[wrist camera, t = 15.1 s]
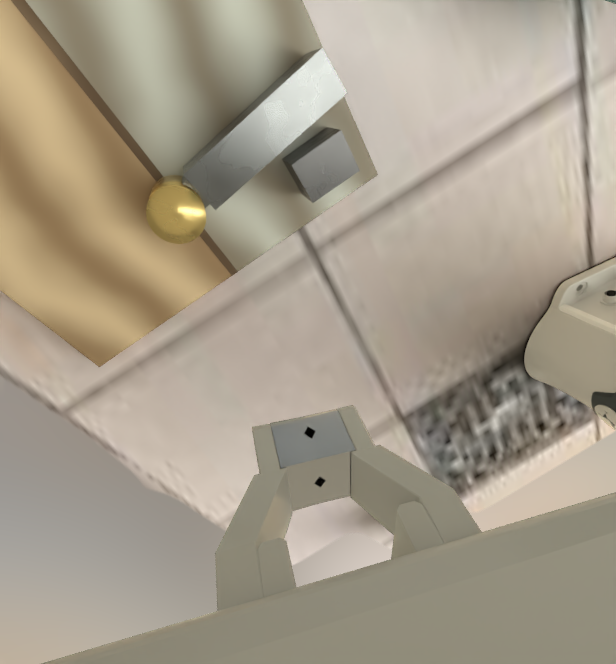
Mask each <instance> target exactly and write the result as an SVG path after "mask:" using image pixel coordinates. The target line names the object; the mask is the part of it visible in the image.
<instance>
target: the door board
mask: <svg viewBox="0 0 616 664" xmlns="http://www.w3.org/2000/svg"><path fill="white" fill-rule="evenodd" d="M320 48H323V47H322V45H321V42H320V40H319V38H318V35H317V33H316V31H315V29H314V26H313V24H312V22H311V19H310V17H309V15H308V12H307V10H306V8H305V5H304V3H303V1H302V0H0V290H1V291H2V292H3V293H4V294H6V295H7V296H8V297H10V298H11V299H12V300H13V301H15V302H16V303H17V304H19V305H20V306H21V307H23V308H24V309H25V310H26V311H28V312H29V313H30V314H32V315H33V316H34V317H35V318H37V319H38V320H39V321H41V322H42V323H43V324H44V325H46V326H47V327H48V328H50V329H51V330H52V331H53V332H55V333H56V334H57V335H59V336H60V337H61V338H63V339H64V340H65V341H66V342H68V343H69V344H70V345H72V346H73V347H74V348H75V349H77V350H78V351H79V352H81V353H82V354H83V355H84V356H86V357H87V358H88V359H90V360H91V361H92V362H93V363H95V364H96V365H97V366H99V367H100V366H102V365H103V364H105V363H106V362H107V361H109V360H110V359H112V358H113V357H115V356H116V355H118V354H119V353H120V352H122V351H123V350H125V349H126V348H128V347H129V346H131V345H132V344H134V343H135V342H136V341H138V340H139V339H141V338H142V337H144V336H145V335H147V334H148V333H149V332H151V331H152V330H154V329H155V328H157V327H158V326H160V325H161V324H162V323H164V322H165V321H167V320H168V319H170V318H171V317H173V316H174V315H175V314H177V313H178V312H180V311H181V310H183V309H184V308H186V307H187V306H189V305H190V304H191V303H193V302H194V301H196V300H197V299H199V298H200V297H202V296H203V295H204V294H206V293H207V292H209V291H210V290H212V289H213V288H215V287H216V286H217V285H219V284H220V283H222V282H223V281H225V280H226V279H228V278H229V277H231V276H232V275H234V274H235V273H237V272H238V271H239V270H241V269H242V268H244V267H245V266H246V265H248V264H249V263H251V262H252V261H254V260H255V259H257V258H258V257H259V256H261V255H262V254H264V253H265V252H267V251H268V250H270V249H271V248H272V247H274V246H275V245H277V244H278V243H280V242H281V241H283V240H284V239H286V238H287V237H288V236H290V235H291V234H293V233H294V232H296V231H297V230H299V229H300V228H301V227H303V226H304V225H306V224H307V223H309V222H310V221H312V220H313V219H314V218H316V217H317V216H319V215H320V214H322V213H323V212H325V211H326V210H328V209H329V208H330V207H332V206H333V205H335V204H336V203H338V202H339V201H341V200H342V199H343V198H345V197H346V196H348V195H349V194H351V193H352V192H354V191H355V190H356V189H358V188H359V187H361V186H362V185H364V184H365V183H367V182H368V181H369V180H371V179H372V178H374V177H375V176H377V175H378V174H377V172H376V170H375V167H374V165H373V163H372V160H371V158H370V156H369V153H368V151H367V149H366V146H365V144H364V142H363V139H362V137H361V135H360V133H359V130H358V128H357V126H356V123H355V121H354V119H353V116H352V114H351V112H350V109H349V107H348V105H347V103H346V100H345V98H344V97H342V98H341V99H340V100H339V101H338V102H337V103H336V104H335V105H333V106H332V107H331V108H330V109H329V110H328V111H327V112H326V113H324V114H323V115H322V116H321V117H320V118H319V119H318V120H317V121H315V122H314V123H313V124H312V125H311V126H310V127H309V128H308V129H306V130H305V131H304V132H303V133H302V134H301V135H300V136H299V137H297V138H296V139H295V140H294V141H293V142H292V143H291V144H290V145H288V146H287V147H286V148H285V149H284V150H283V151H282V152H281V153H279V154H278V155H277V156H276V157H275V158H274V159H273V160H272V161H270V162H269V163H268V164H267V165H266V166H265V167H264V168H263V169H261V170H260V171H259V172H258V173H257V174H256V175H255V176H254V177H252V178H251V179H250V180H249V181H248V182H247V183H246V184H245V185H244V186H242V187H241V188H240V189H239V190H238V191H237V192H236V193H235V194H233V195H232V196H231V197H230V198H229V199H228V200H227V201H226V202H224V203H223V204H222V205H221V206H220V207H219V208H218V209H217V210H215V209H214V208H213V207H212V206H211V205H209V206H207V207H206V208H205V211H206V224H205V227H204V230H203V231H202V233H201V234H200V235H199V236H198V237H197V238H196V239H195V240H193V241H191V242H188V243H184V244H174V243H170V242H167V241H165V240H163V239H161V238H160V237H158V236H157V235H156V234H155V233H154V232H153V231H152V229H151V228H150V226H149V224H148V221H147V217H146V208H147V203H148V200H149V196H150V193H151V190H152V188H153V186H154V184H155V183H156V182H157V181H158V180H159V179H161V178H163V177H165V176H169V175H179V176H184V175H183V166H184V165H185V164H186V163H187V162H188V161H189V160H190V159H192V158H193V157H194V156H195V155H196V154H197V153H198V152H199V151H200V150H201V149H202V148H203V147H205V146H206V145H207V144H208V143H209V142H210V141H211V140H212V139H213V138H214V137H215V136H216V135H218V134H219V133H220V132H221V131H222V130H223V129H224V128H225V127H226V126H227V125H228V124H230V123H231V122H232V121H233V120H234V119H235V118H236V117H237V116H238V115H239V114H240V113H241V112H243V111H244V110H245V109H246V108H247V107H248V106H249V105H250V104H251V103H252V102H253V101H254V100H256V99H257V98H258V97H259V96H260V95H261V94H262V93H263V92H264V91H265V90H266V89H268V88H269V87H270V86H271V85H272V84H273V83H274V82H275V81H276V80H277V79H278V78H279V77H281V76H282V75H283V74H284V73H285V72H286V71H287V70H288V69H289V68H290V67H291V66H292V65H294V64H295V63H296V62H297V61H298V60H299V59H300V58H301V57H302V56H303V55H304V54H306V53H307V52H310V51H314V50H317V49H320ZM323 50H324V49H323ZM326 127H330V128H334V129H339V130H341V131H342V133H343V135H344V137H345V139H346V142H347V144H348V146H349V148H350V150H351V152H352V155H353V157H354V159H355V161H356V163H357V166H358V168H359V170H360V171H359V172H357V173H356V174H354V175H353V176H351V177H350V178H348V179H347V180H346V181H344V182H343V183H341V184H340V185H338V186H337V187H335V188H334V189H333V190H331V191H330V192H328V193H327V194H325V195H324V196H323V197H321V198H320V199H318V200H317V201H315V202H314V203H312V202H311V201H310V200H308V199H307V198H306V197H305V196H303V195H302V193H301V192H300V190H299V188H298V186H297V185H296V183H295V181H294V179H293V178H292V176H291V174H290V173H289V171H288V169H287V167H286V166H285V164H284V162H283V160H282V158H284V157H285V156H287V155H288V154H290V153H291V152H292V151H294V150H295V149H297V148H298V147H299V146H301V145H302V144H304V143H305V142H307V141H308V140H309V139H311V138H312V137H314V136H315V135H316V134H318V133H319V132H321V131H322V130H323V129H325V128H326Z"/></svg>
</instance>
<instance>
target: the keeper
mask: <svg viewBox="0 0 616 664" xmlns="http://www.w3.org/2000/svg"><path fill="white" fill-rule="evenodd" d="M282 160H283V162H284V164H285V166H286V167H287V169H288V171H289V173H290V174H291V176H292V178H293V179H294V181H295V183H296V185H297V186H298V188H299V190H300V192H301V193H302V195H303V196H305V197H306V198H307V199H308V200H310V201H311V202H312V203H314V202H315V201H317V200H318V199H320V198H321V197H323V196H324V195H325V194H327V193H328V192H330V191H331V190H333V189H334V188H335V187H337V186H338V185H340V184H341V183H343V182H344V181H346V180H347V179H348V178H350V177H351V176H353V175H354V174H356V173H357V172H359V171H360V170H359V168H358V166H357V163H356V161H355V159H354V157H353V155H352V152H351V150H350V148H349V146H348V144H347V142H346V139H345V137H344V135H343V133H342V131H341V130H339V129H334V128H330V127H326V128H325V129H323V130H322V131H321V132H319V133H318V134H316V135H315V136H314V137H312V138H311V139H309V140H308V141H307V142H305V143H304V144H302V145H301V146H299V147H298V148H297V149H295V150H294V151H292V152H291V153H290V154H288V155H287V156H285V157H284V158H282Z"/></svg>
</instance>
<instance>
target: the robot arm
mask: <svg viewBox="0 0 616 664" xmlns="http://www.w3.org/2000/svg"><path fill="white" fill-rule="evenodd" d="M524 363H525V368H526V371H527V372H528V374H529V375H530V376H531V377H532V378H534V379H535V380H538V381H541V382H543V383H546V384H548V385H550V386H552V387H555V388H557V389H559V390H561V391H562V392H564V393H566V394H568V395H570V396H572V397H573V398H575V399H577V400H578V401H580V402H582V403H583V404H585V405H587V406H588V407H590V408H591V409H593V411H594V412H595V414H597V415H598V416H599V417H600V418H601V419H602V420H603V421H604V422H605V423H606V424H608V425H609V426H610V427H611V428H613V429H614V430H615V431H616V257H615V258H613V259H611V260H608V261H606V262H604V263H602V264H600V265H598V266H596V267H593V268H591V269H589V270H587V271H585V272H583V273H581V274H579V275H576V276H574V277H572V278H570V279H568V280H566V281H564V282H563V283H562V284H561V285H560V286H559V287H558V289H557V291H556V293H555V295H554V297H553V300H552V302H551V305H550V307H549V309H548V311H547V312H546V314H545V315H544V316H543V318H542V319H541V320H540V322H539V323H538V324H537V326H536V327H535V329H534V331H533V333H532V334H531V336H530V339H529V341H528V344H527V347H526V350H525V356H524ZM252 432H253V438H254V444H255V450H256V455H257V461H258V467H259V473H260V474H258V475H254V477H253V479H252V481H251V483H250V485H249V487H248V489H247V491H246V493H245V495H244V497H243V499H242V501H241V503H240V505H239V507H238V509H237V511H236V513H235V515H234V517H233V519H232V521H231V523H230V525H229V527H228V529H227V531H226V533H225V535H224V537H223V539H222V541H221V543H220V545H219V547H218V549H217V551H216V553H215V561H216V562H215V563H216V588H217V608H218V609H217V611H216V612H213V613H210V614H207V615H203V616H200V617H196V618H193V619H190V620H186V621H183V622H179V623H176V624H173V625H169V626H166V627H163V628H159V629H156V630H152V631H149V632H146V633H142V634H139V635H136V636H132V637H129V638H126V639H122V640H119V641H116V642H112V643H109V644H106V645H102V646H99V647H96V648H92V649H89V650H85V651H83V652H79V653H75V654H72V655H69V656H65V657H62V658H59V659H56V660H52V661H49V662H45V663H42V664H616V493H612V494H608V495H605V496H602V497H598V498H595V499H592V500H588V501H585V502H582V503H578V504H575V505H572V506H568V507H565V508H562V509H558V510H555V511H552V512H548V513H545V514H542V515H538V516H535V517H531V518H528V519H525V520H521V521H518V522H515V523H512V524H508V525H505V526H501V527H498V528H495V529H491V530H488V531H485V532H481V530H480V529H479V527H478V526H477V524H476V523H475V521H474V520H473V518H472V516H471V515H470V513H469V512H468V510H467V509H466V507H465V506H464V504H463V503H462V501H461V500H460V498H459V497H458V495H457V493H456V492H455V490H454V489H453V488H451V487H449V486H448V485H446V484H444V483H443V482H441V481H439V480H438V479H436V478H434V477H433V476H431V475H429V474H428V473H426V472H424V471H423V470H421V469H419V468H418V467H416V466H414V465H413V464H411V463H409V462H408V461H406V460H404V459H403V458H401V457H399V456H398V455H396V454H394V453H393V452H391V451H389V450H388V449H386V448H384V447H383V446H381V445H378V446H375V445H374V443H373V441H372V439H371V437H370V435H369V433H368V431H367V429H366V427H365V425H364V423H363V421H362V420H361V418H360V416H359V414H358V412H357V410H356V408H355V407H354V406H353V405H351V406H347V407H342V408H338V409H334V410H329V411H325V412H321V413H316V414H312V415H308V416H303V417H300V418H295V419H289V420H284V421H279V422H274V423H270V424H266V425H260V426H255V427H252ZM348 496H351V498H352V499H353V500H354V501H355V502H357V503H358V504H359V505H360V506H361V507H362V508H363V509H364V510H366V511H367V512H368V513H369V514H370V515H371V516H372V517H374V518H375V519H376V520H377V521H378V522H379V523H380V524H382V525H383V526H384V527H385V528H386V529H387V530H388V531H390V532H391V533H392V534H393V535H394V540H393V548H392V557H391V560H387V561H384V562H381V563H377V564H374V565H370V566H367V567H364V568H361V569H357V570H354V571H350V572H347V573H343V574H340V575H337V576H334V577H330V578H327V579H323V580H320V581H317V582H313V583H310V584H307V585H303V586H300V587H297V588H296V583H295V579H294V574H293V570H292V565H291V560H290V556H289V551H288V547H287V542H286V541H285V540H284V538H285V535H286V532H287V529H288V526H289V522H290V519H291V516H292V511H295V510H298V509H302V508H305V507H308V506H312V505H315V504H319V503H322V502H327V501H331V500H335V499H340V498H344V497H348Z"/></svg>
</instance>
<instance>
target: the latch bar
mask: <svg viewBox="0 0 616 664" xmlns="http://www.w3.org/2000/svg"><path fill="white" fill-rule="evenodd" d="M346 94H347V91H346V90H345V88H344V86H343V84H342V82H341V81H340V79H339V77H338V75H337V73H336V71H335V70H334V68H333V66H332V64H331V62H330V60H329V59H328V57H327V55H326V53H325V51H324V50H323V48H320V49H317V50H314V51H310V52H307V53H306V54H304V55H303V56H302V57H301V58H300V59H299V60H298V61H297V62H296V63H295V64H294V65H292V66H291V67H290V68H289V69H288V70H287V71H286V72H285V73H284V74H283V75H282V76H281V77H279V78H278V79H277V80H276V81H275V82H274V83H273V84H272V85H271V86H270V87H269V88H268V89H266V90H265V91H264V92H263V93H262V94H261V95H260V96H259V97H258V98H257V99H256V100H254V101H253V102H252V103H251V104H250V105H249V106H248V107H247V108H246V109H245V110H244V111H243V112H241V113H240V114H239V115H238V116H237V117H236V118H235V119H234V120H233V121H232V122H231V123H230V124H228V125H227V126H226V127H225V128H224V129H223V130H222V131H221V132H220V133H219V134H218V135H216V136H215V137H214V138H213V139H212V140H211V141H210V142H209V143H208V144H207V145H206V146H205V147H203V148H202V149H201V150H200V151H199V152H198V153H197V154H196V155H195V156H194V157H193V158H192V159H190V160H189V161H188V162H187V163H186V164H185V165H184V166H183V175H184V176H179V175H169V176H165V177H163V178H161V179H159V180H158V181H157V182H156V183H155V184H154V186H153V188H152V190H151V193H150V196H149V200H148V203H147V208H146V217H147V221H148V224H149V226H150V228H151V229H152V231H153V232H154V233H155V234H156V235H157V236H158V237H160V238H161V239H163V240H165V241H167V242H170V243H174V244H184V243H188V242H191V241H193V240H195V239H196V238H197V237H198V236H199V235H200V234H201V233H202V231H203V230H204V227H205V224H206V211H205V208H206V207H207V206H209V205H211V206H212V207H213V208H214V209H215V210H217V209H218V208H219V207H220V206H221V205H222V204H223V203H224V202H226V201H227V200H228V199H229V198H230V197H231V196H232V195H233V194H235V193H236V192H237V191H238V190H239V189H240V188H241V187H242V186H244V185H245V184H246V183H247V182H248V181H249V180H250V179H251V178H252V177H254V176H255V175H256V174H257V173H258V172H259V171H260V170H261V169H263V168H264V167H265V166H266V165H267V164H268V163H269V162H270V161H272V160H273V159H274V158H275V157H276V156H277V155H278V154H279V153H281V152H282V151H283V150H284V149H285V148H286V147H287V146H288V145H290V144H291V143H292V142H293V141H294V140H295V139H296V138H297V137H299V136H300V135H301V134H302V133H303V132H304V131H305V130H306V129H308V128H309V127H310V126H311V125H312V124H313V123H314V122H315V121H317V120H318V119H319V118H320V117H321V116H322V115H323V114H324V113H326V112H327V111H328V110H329V109H330V108H331V107H332V106H333V105H335V104H336V103H337V102H338V101H339V100H340V99H341V98H342V97H344V96H345V95H346Z"/></svg>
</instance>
